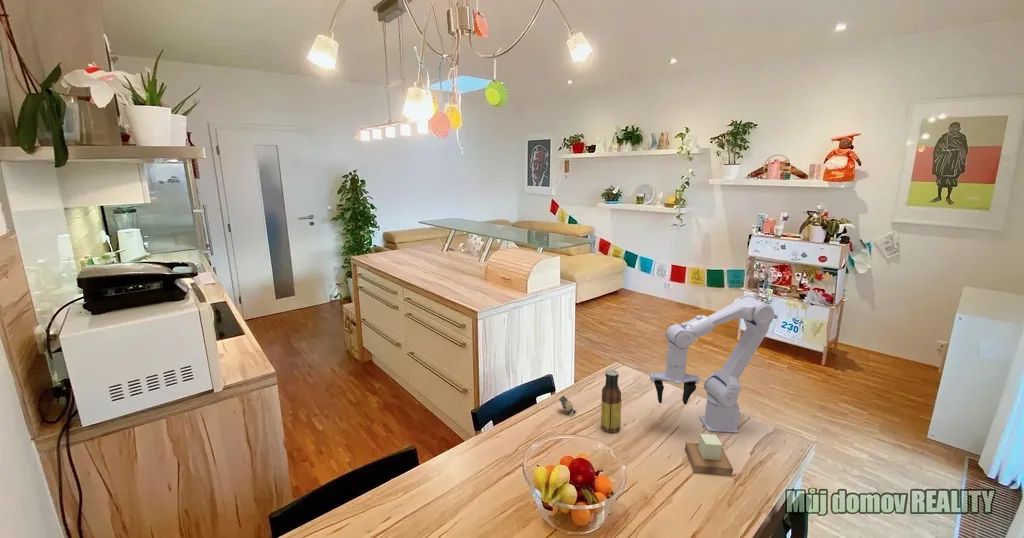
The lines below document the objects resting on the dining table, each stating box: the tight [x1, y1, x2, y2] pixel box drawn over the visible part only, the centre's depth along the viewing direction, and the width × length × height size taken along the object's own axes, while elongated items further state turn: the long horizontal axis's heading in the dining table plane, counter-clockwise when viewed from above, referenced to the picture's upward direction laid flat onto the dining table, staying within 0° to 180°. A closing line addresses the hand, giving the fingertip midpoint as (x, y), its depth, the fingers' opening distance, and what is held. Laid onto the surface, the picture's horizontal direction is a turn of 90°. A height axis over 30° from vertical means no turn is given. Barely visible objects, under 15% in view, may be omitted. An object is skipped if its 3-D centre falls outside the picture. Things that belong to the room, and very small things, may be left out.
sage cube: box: [698, 433, 723, 460], centre depth 123 cm, size 4×4×5 cm
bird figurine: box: [558, 395, 577, 419], centre depth 147 cm, size 5×5×6 cm
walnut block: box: [684, 442, 734, 477], centre depth 124 cm, size 10×10×3 cm
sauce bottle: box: [600, 369, 622, 434], centre depth 137 cm, size 6×6×20 cm
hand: (672, 402), depth 136 cm, fingers open, 7 cm apart
